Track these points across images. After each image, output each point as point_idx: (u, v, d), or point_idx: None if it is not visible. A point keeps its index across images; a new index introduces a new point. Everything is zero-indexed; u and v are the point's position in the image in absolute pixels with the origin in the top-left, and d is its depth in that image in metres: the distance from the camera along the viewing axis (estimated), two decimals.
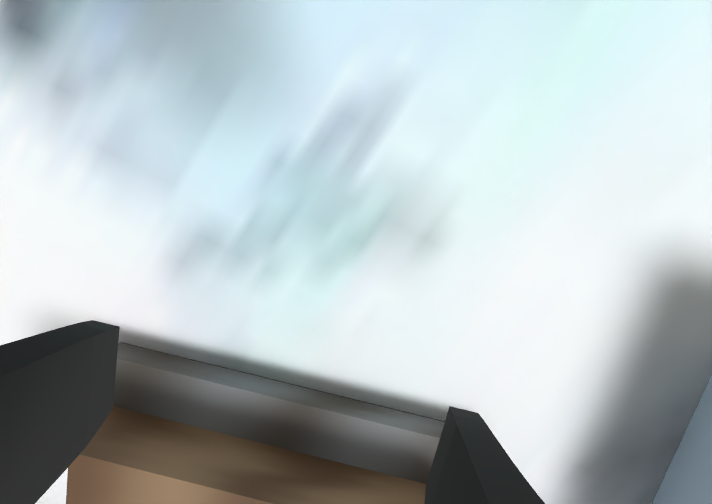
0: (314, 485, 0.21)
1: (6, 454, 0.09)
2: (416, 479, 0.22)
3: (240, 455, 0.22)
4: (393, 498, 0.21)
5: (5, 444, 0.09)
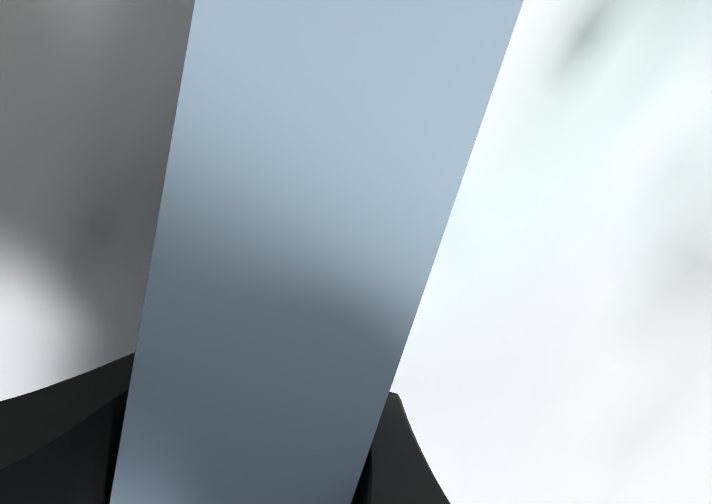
0: None
1: (105, 479, 0.09)
2: None
3: None
4: None
5: (106, 468, 0.09)
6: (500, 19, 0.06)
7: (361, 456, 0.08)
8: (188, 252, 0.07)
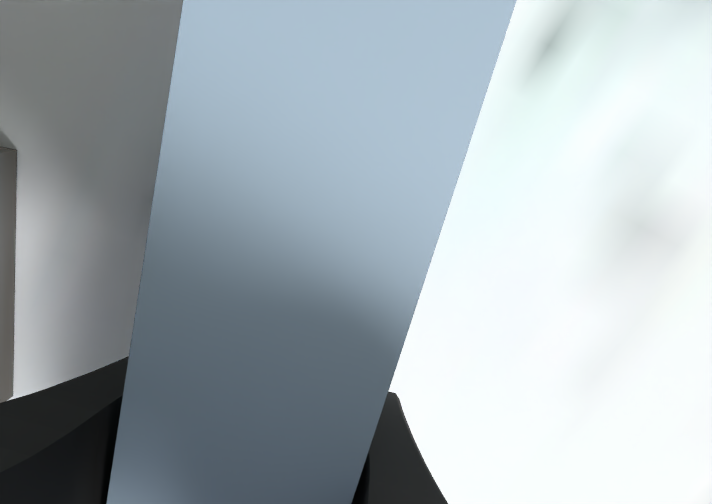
0: None
1: (108, 479, 0.09)
2: None
3: None
4: None
5: (107, 469, 0.09)
6: (495, 13, 0.06)
7: (359, 460, 0.08)
8: (181, 254, 0.07)
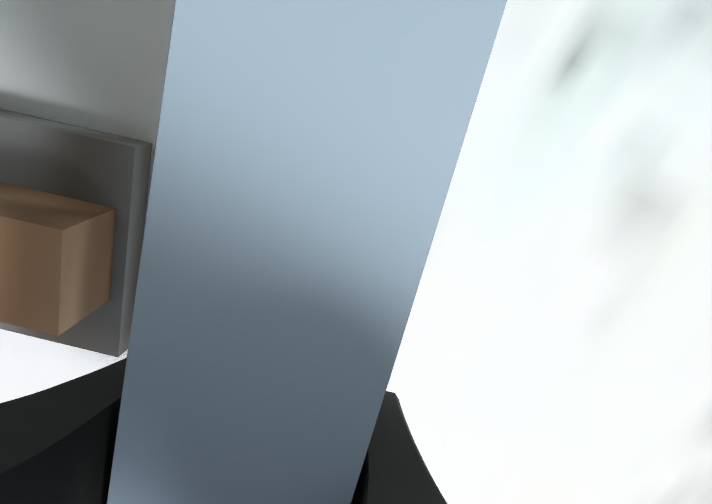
0: None
1: (109, 480, 0.09)
2: (56, 191, 0.19)
3: None
4: (7, 196, 0.18)
5: (109, 470, 0.09)
6: (488, 6, 0.06)
7: (359, 457, 0.08)
8: (177, 253, 0.07)
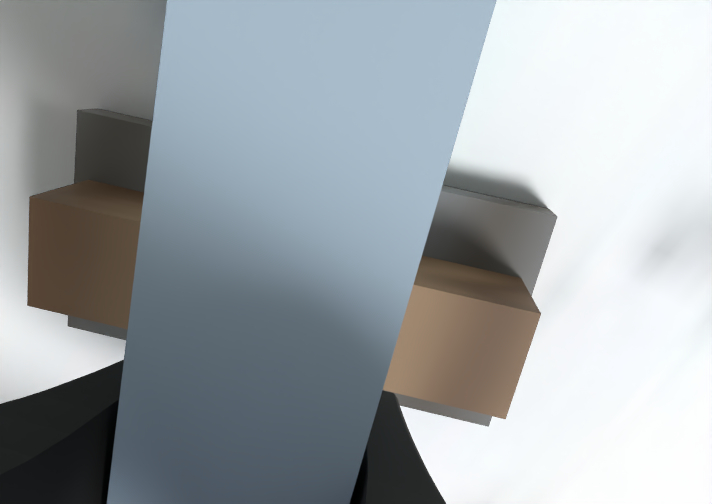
0: None
1: None
2: (459, 260, 0.18)
3: None
4: (433, 270, 0.17)
5: (110, 469, 0.09)
6: None
7: (358, 452, 0.08)
8: (173, 249, 0.07)
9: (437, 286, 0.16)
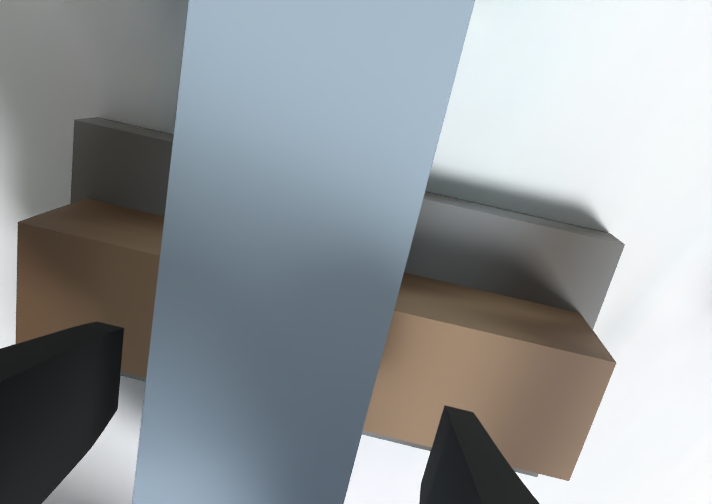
0: None
1: (12, 456, 0.09)
2: (509, 292, 0.16)
3: None
4: (483, 306, 0.15)
5: (12, 445, 0.09)
6: (460, 0, 0.07)
7: (362, 409, 0.08)
8: (195, 229, 0.08)
9: (493, 329, 0.13)
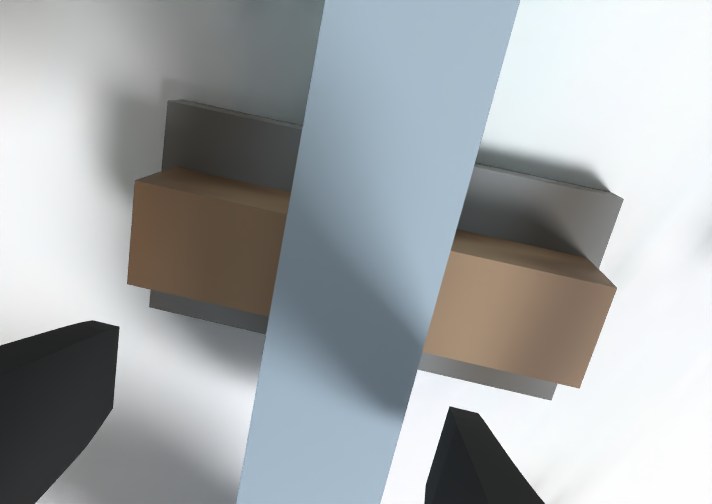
0: None
1: (6, 454, 0.09)
2: (528, 241, 0.19)
3: None
4: (508, 249, 0.18)
5: (6, 442, 0.09)
6: (510, 0, 0.10)
7: (434, 294, 0.12)
8: (319, 162, 0.11)
9: (518, 263, 0.17)
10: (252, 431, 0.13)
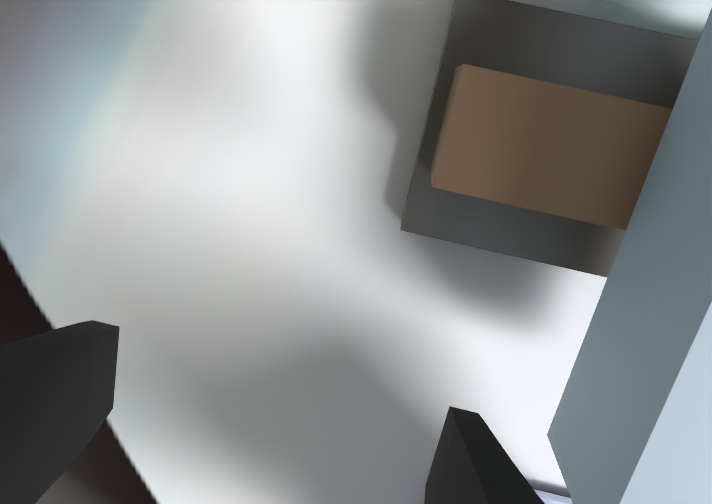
0: None
1: (6, 454, 0.09)
2: None
3: None
4: None
5: (5, 443, 0.09)
6: None
7: None
8: None
9: None
10: (708, 319, 0.11)
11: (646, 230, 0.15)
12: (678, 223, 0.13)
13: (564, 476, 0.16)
